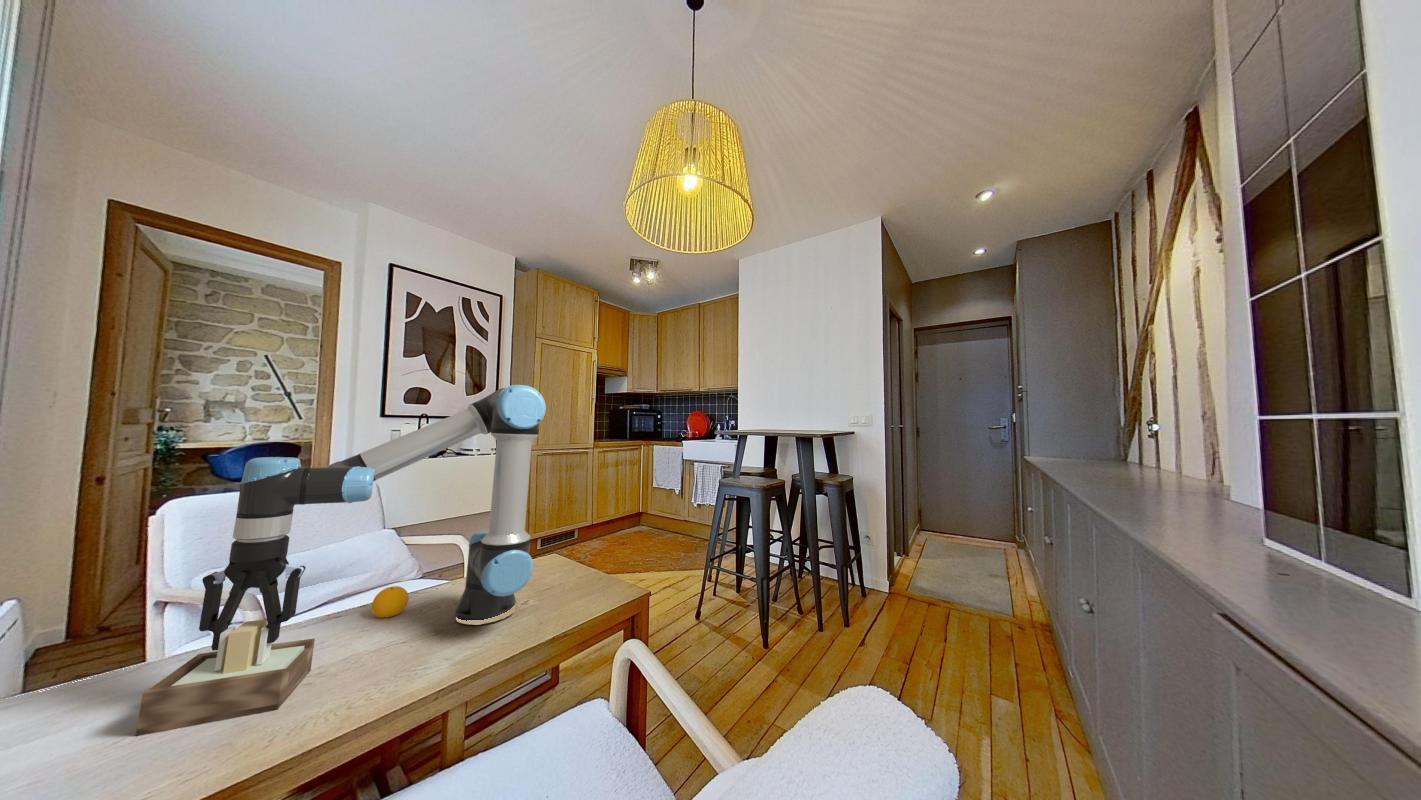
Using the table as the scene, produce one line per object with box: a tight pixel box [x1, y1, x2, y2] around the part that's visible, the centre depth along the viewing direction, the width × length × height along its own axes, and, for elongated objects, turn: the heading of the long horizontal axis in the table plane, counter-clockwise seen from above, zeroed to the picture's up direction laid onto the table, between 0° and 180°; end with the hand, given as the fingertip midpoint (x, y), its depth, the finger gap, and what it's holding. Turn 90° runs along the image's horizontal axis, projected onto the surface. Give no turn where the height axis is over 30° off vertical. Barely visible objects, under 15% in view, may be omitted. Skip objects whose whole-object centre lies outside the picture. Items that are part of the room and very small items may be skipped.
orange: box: [371, 585, 410, 619], centre depth 111 cm, size 8×8×8 cm
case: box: [134, 638, 316, 737], centre depth 75 cm, size 17×13×6 cm
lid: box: [172, 618, 305, 686], centre depth 76 cm, size 14×10×8 cm
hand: (243, 663), depth 75 cm, fingers closed on lid, 5 cm apart
